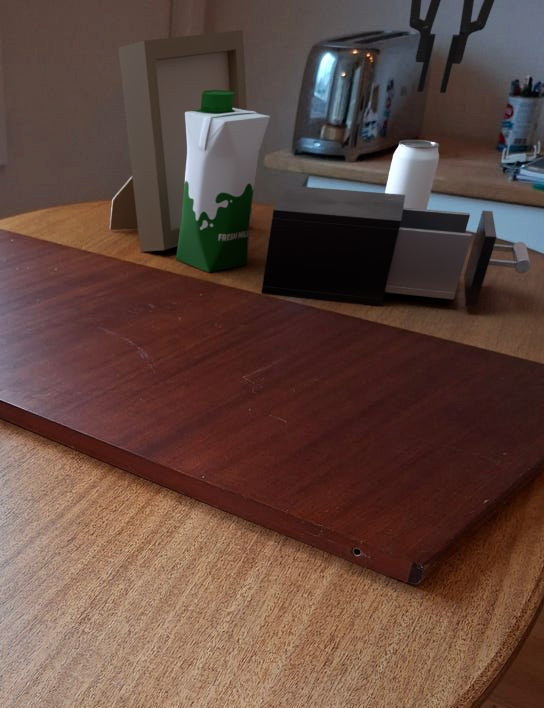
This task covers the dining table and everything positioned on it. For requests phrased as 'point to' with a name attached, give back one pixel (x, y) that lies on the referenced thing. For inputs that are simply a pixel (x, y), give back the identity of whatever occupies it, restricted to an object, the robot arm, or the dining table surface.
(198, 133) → the milk carton
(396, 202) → the cabinet
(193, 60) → the photo frame
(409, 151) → the can
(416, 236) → the drawer
